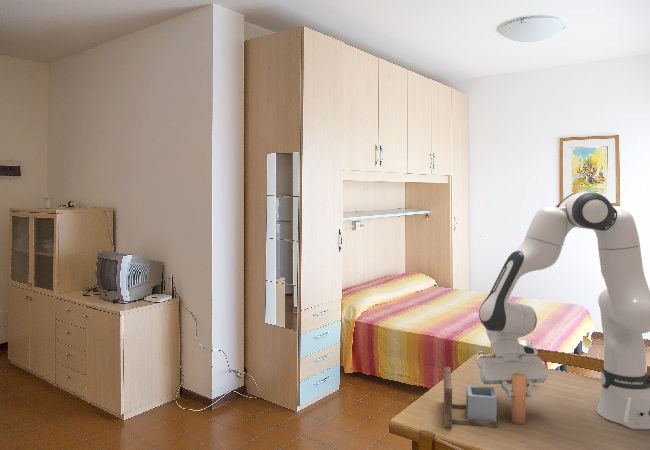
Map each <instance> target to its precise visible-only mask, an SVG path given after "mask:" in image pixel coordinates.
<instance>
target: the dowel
mask: <svg viewBox="0 0 650 450" xmlns="http://www.w3.org/2000/svg"><path fill="white" fill-rule="evenodd" d="M526 379H527V376H526V375H524V374H520V373H515V374H513V375H512V384H511V390H513V393H514V397H511V421H512V422H513V423H514V424H520V425H522V424H525V423H526V421H527V419H526V418H527V415H526V412H527V397H526V389H527V386H526Z"/></svg>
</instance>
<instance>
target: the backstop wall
mask: <svg viewBox="0 0 650 450" xmlns="http://www.w3.org/2000/svg"><path fill="white" fill-rule="evenodd" d="M453 409H458V410H466V404H464V403H453V383H452V372H451V367H449V366H444V367H443V415H444V416H443V417H444V428H447V429H452V428H453V425H454V424H457V425H467V426H477V427H478V426H479V427H489V428H490V427H491V428H497V425H498V422H497V421H496V422H489V421H478V420H468V419H464V418H455V417H453Z"/></svg>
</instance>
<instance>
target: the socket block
mask: <svg viewBox="0 0 650 450" xmlns="http://www.w3.org/2000/svg"><path fill="white" fill-rule="evenodd" d="M465 395H466V396H465V397H466V399H465V400H466V401H465V402H466V409H465V410H466V418H467V419H466V420H478V421H489V422H497V415H498V414H497V411H498V410H497V407H498V406H497V405H498V404H497V403H498V401H497V400H498V399H497V398H498V397H497V395H496V391H495V387H493V386H480V385H479V386H478V385H468V384H466V394H465Z"/></svg>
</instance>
